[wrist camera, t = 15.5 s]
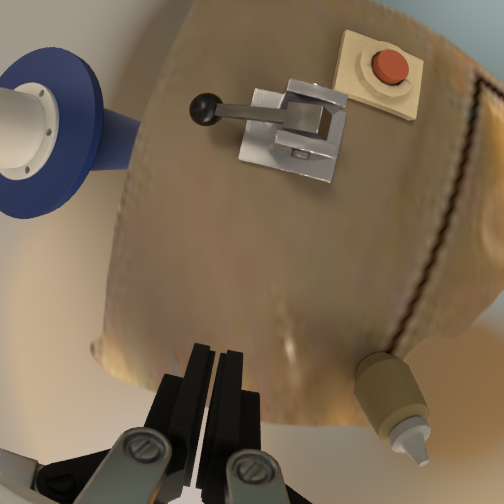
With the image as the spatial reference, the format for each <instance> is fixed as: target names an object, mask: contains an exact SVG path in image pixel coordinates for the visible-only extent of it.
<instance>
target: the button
mask: <svg viewBox="0 0 504 504" xmlns="http://www.w3.org/2000/svg"><path fill="white" fill-rule="evenodd" d="M373 70H374V73H375V74H376V76H377V77H378V78H379V79H380V80H381V81H383V82H385V83H387V84H396V83H398V82H400V81H401V80H403V79H405V78H406V77H407V75H408V73H409V66H408V63H407V61H406V59H405V58H404V57H403V56H402V55H401V54H400V53H399V52H397V51H394V50H390V49H389V50H384V51H382V52H381V53H380V54H378V55H377V56H376V57H375V58H374V60H373Z"/></svg>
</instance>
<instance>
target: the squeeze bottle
mask: <svg viewBox="0 0 504 504" xmlns="http://www.w3.org/2000/svg"><path fill="white" fill-rule="evenodd" d="M354 394H355V396H356V399H357V401H358V402H359V404H360V406H361V408H362V409H363V411H364V413H365V415H366V416H367V418H368V420H369V421H370V423H371V425H372V427H373V428H374V430H375V432H376V433H377V435H378V437H379V439H380V440H382V441H383V442H386V443H390V444H391V446H392V448H393V451H395V452H397V453H407V454H408V455H409V456H410V457H411V458H412V459H413V461H414V462H415V463H416V464H417V465H418V466H419V467H422V466H425V465H426V464H427V463H428V462H429V459H428V454H427V449H426V445H425V441H426V439H427V438H428V437H429V434H430V432H431V430H430V426H429V424H428V423H427V419H428V416H429V409H428V407H427V404H426V402H425V400H424V398H423V396H422V393H421V391H420V389H419V387H418V385H417V383H416V381H415V379H414V377H413V374H412V373H411V370H410V368H409V366H408V365H407V364H406V363H404V362H403V361H402V360H400V359H398V358H396V357H394V356H392V355H390V354H388V353H384V352H378V353H373V354H371V355H369V356H367V357H366V358H365V359H364V360H362V361H361V362H360V364H359V365H358V367H357V369H356V376H355V390H354Z"/></svg>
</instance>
